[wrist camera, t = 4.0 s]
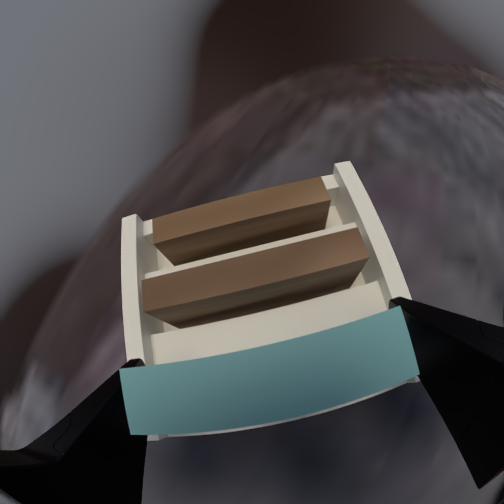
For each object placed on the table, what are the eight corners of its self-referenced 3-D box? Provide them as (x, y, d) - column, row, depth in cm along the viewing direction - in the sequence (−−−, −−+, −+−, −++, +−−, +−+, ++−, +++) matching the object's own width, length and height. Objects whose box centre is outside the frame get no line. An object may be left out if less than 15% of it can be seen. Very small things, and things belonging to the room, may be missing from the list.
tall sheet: (337, 374, 13) (419, 374, 4) (227, 400, 14) (131, 434, 5) (330, 348, 14) (400, 305, 5) (222, 374, 14) (119, 369, 5)
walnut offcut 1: (323, 237, 17) (331, 199, 13) (180, 272, 17) (153, 244, 13) (315, 216, 17) (320, 176, 14) (178, 250, 18) (152, 219, 14)
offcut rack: (402, 375, 14) (433, 374, 10) (172, 428, 14) (141, 440, 10) (341, 199, 19) (349, 161, 15) (149, 246, 19) (122, 218, 16)
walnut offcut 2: (349, 288, 15) (369, 256, 11) (179, 329, 16) (143, 311, 11) (341, 264, 16) (357, 227, 12) (176, 304, 16) (141, 279, 12)
